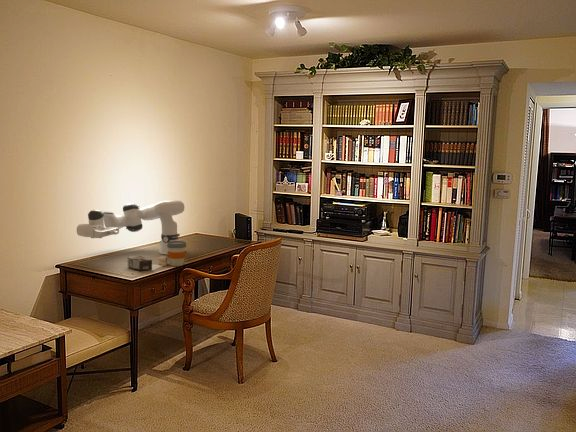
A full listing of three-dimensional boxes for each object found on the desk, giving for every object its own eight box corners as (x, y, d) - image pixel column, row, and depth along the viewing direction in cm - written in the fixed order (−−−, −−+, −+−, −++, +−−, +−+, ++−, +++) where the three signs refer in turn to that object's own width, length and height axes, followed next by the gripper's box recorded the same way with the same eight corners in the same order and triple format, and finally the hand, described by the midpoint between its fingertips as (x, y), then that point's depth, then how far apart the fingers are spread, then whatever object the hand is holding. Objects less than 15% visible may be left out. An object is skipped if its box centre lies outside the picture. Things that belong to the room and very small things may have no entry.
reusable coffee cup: (189, 265, 350) (189, 243, 348) (171, 267, 344) (170, 244, 342) (182, 261, 361) (182, 240, 359) (164, 263, 354) (164, 241, 352)
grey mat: (144, 264, 351) (144, 263, 351) (163, 265, 347) (163, 265, 347) (132, 268, 338) (132, 268, 338) (152, 270, 334) (152, 270, 334)
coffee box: (127, 266, 340) (138, 271, 329) (127, 256, 340) (139, 261, 328) (140, 265, 347) (152, 269, 335) (140, 255, 346) (152, 259, 334)
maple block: (160, 263, 354) (160, 256, 353) (167, 263, 354) (167, 256, 353) (158, 265, 349) (158, 258, 348) (165, 265, 349) (165, 258, 348)
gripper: (108, 233, 359) (126, 235, 355) (89, 238, 339) (108, 240, 336) (108, 224, 358) (125, 225, 354) (89, 229, 339) (107, 230, 335)
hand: (117, 232), depth 345 cm, fingers closed
